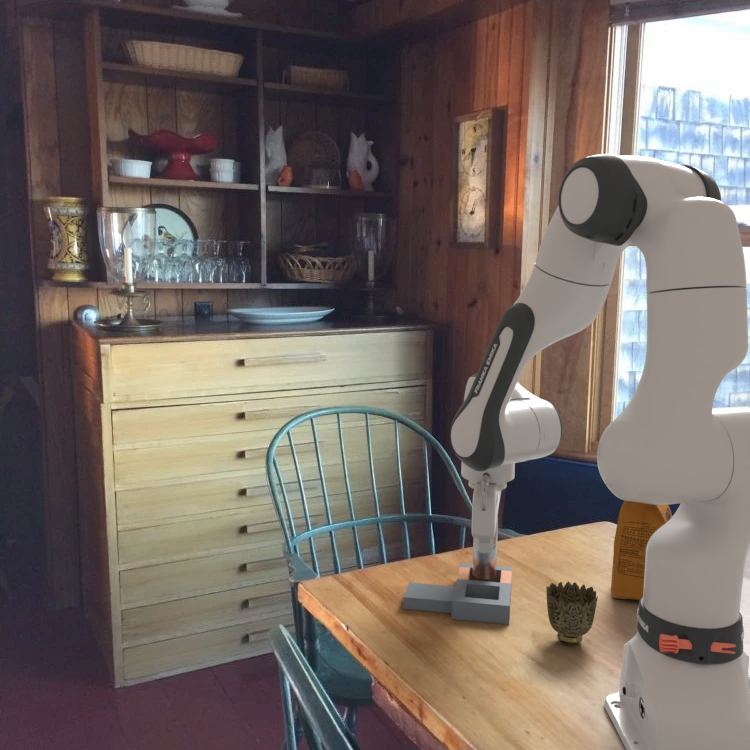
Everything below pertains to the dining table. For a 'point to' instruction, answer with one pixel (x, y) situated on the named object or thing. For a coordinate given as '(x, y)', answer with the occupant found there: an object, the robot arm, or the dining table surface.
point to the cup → (571, 611)
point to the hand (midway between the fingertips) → (485, 545)
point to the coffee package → (634, 546)
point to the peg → (485, 558)
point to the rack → (466, 596)
